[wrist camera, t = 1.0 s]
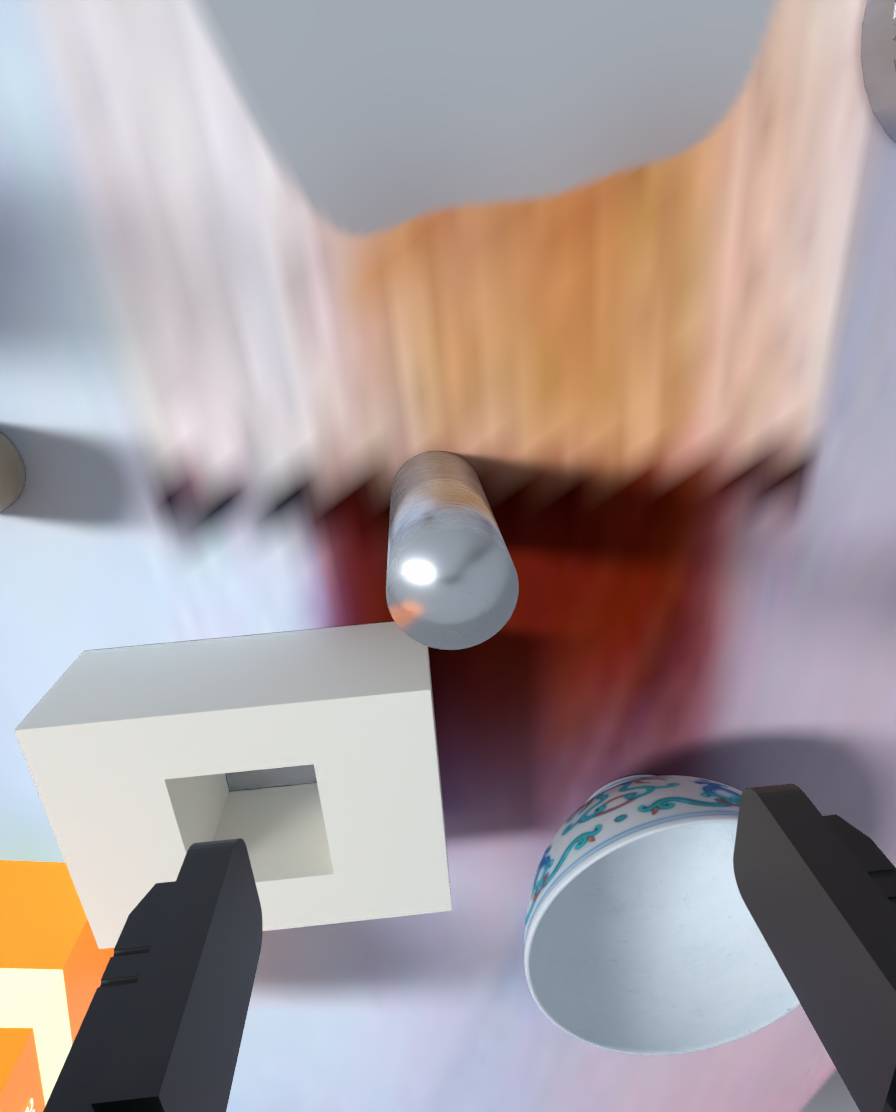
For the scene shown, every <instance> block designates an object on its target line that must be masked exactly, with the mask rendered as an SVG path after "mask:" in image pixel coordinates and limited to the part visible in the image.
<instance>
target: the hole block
mask: <svg viewBox="0 0 896 1112" xmlns="http://www.w3.org/2000/svg"><path fill="white" fill-rule="evenodd" d="M14 732H15V735H16V737H17V740H18V742H19V745H20V747H21V750H22V752H23V755H24V758H25V760H26V763H27V765H28V768H29V770H30V773H31V776H32V778H33V781H34V783H35V786H36V788H37V791H38V794H39V796H40V799H41V801H42V804H43V806H44V809H45V812H46V814H47V817H48V819H49V822H50V824H51V827H52V829H53V832H54V835H55V837H56V840H57V842H58V845H59V847H60V850H61V853H62V855H63V858H64V860H65V863H66V865H67V868H68V871H69V873H70V876H71V878H72V881H73V883H74V886H75V889H76V891H77V894H78V896H79V899H80V901H81V904H82V907H83V909H84V912H85V914H86V917H87V919H88V922H89V924H90V927H91V930H92V932H93V935H94V937H95V940H96V942H97V945H98V948H99V949H106V948H115V946H116V943H117V941H118V939H119V937H120V934H121V932H122V930H123V927H124V925H125V923H126V921H127V918H128V916H129V914H130V913H131V912H132V911H133V909H134V908H135V907H136V906H137V905H138V904H139V902H140V901H141V900H142V899H143V898H144V897H145V895H146V894H147V893H148V892H149V891H150V890H151V888H152V887H153V886H154V885H155V884H156V883H164V882H174V881H176V880H177V877H178V874H179V872H180V869H181V866H182V864H183V861H184V859H185V856H186V853H187V851H188V849H189V847H190V846H191V845H192V844H193V843H199V842H208V841H218V840H228V839H238V838H242V839H243V840H244V842H245V844H246V847H247V851H248V855H249V859H250V863H251V867H252V871H253V875H254V880H255V884H256V888H257V892H258V896H259V900H260V904H261V910H262V931H270V930H280V929H289V928H298V927H307V926H316V925H325V924H335V923H344V922H353V921H362V920H371V919H380V918H390V917H399V916H408V915H417V914H426V913H435V912H445V911H452V906H451V893H450V881H449V869H448V856H447V844H446V831H445V819H444V808H443V797H442V787H441V777H440V766H439V756H438V745H437V735H436V724H435V714H434V703H433V693H432V682H431V672H430V661H429V651H428V646H425V645H423V644H421V643H419V642H417V641H415V640H413V639H412V638H410V637H409V636H408V635H407V634H405V633H404V632H403V631H402V630H401V629H400V628H399V626H398V625H397V624H396V622H384V623H374V624H363V625H353V626H342V627H331V628H321V629H310V630H300V631H289V632H278V633H268V634H257V635H247V636H236V637H225V638H215V639H204V640H194V641H183V642H173V643H162V644H151V645H141V646H130V647H120V648H109V649H98V650H88V651H83V652H82V653H81V654H80V656H79V657H78V658H77V659H76V660H75V661H74V662H73V664H72V665H71V666H70V667H69V668H68V669H67V670H66V672H65V673H64V674H63V675H62V676H61V677H60V678H59V680H58V681H57V682H56V683H55V684H54V685H53V686H52V688H51V689H50V690H49V691H48V692H47V693H46V694H45V696H44V697H43V698H42V699H41V700H40V701H39V702H38V704H37V705H36V706H35V707H34V708H33V709H32V710H31V712H30V713H29V714H28V715H27V716H26V717H25V718H24V720H23V721H22V722H21V723H20V724H19V725H18V726H17V728H16V729H15V730H14ZM312 764H314V769H315V774H316V780H317V783H311V784H301V785H291V786H282V787H272V788H262V789H252V790H242V791H233V792H229V788H228V784H227V780H226V776H225V773H233V772H243V771H253V770H262V769H272V768H282V767H292V766H302V765H312Z"/></svg>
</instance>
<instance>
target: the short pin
mask: <svg viewBox="0 0 896 1112" xmlns="http://www.w3.org/2000/svg"><path fill="white" fill-rule="evenodd" d="M25 480H26V473H25V466H24V462H23V460H22V457H21V455H20V453H19V451H18V450H17V448H16V447H15V445H14V444H13V443H12V442H11V441H10V439H9V438H7V437H6V436H5V435H4V434H3V433H2V432H0V511H2V510H3V509H5V508H7V507H9V506H10V505H12V504H13V503H14V502H15V501H16V500H17V499H18V498H19V497H20V495H21V493H22V491H23V489H24V486H25Z"/></svg>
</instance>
